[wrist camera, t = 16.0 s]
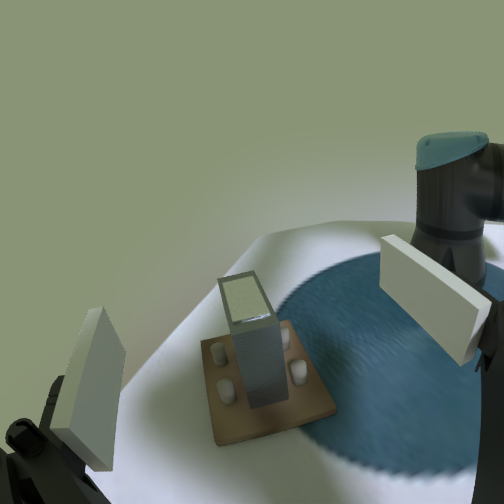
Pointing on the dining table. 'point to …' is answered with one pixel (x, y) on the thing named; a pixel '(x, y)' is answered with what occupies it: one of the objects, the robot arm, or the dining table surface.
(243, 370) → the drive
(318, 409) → the pin tray
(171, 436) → the dining table surface
